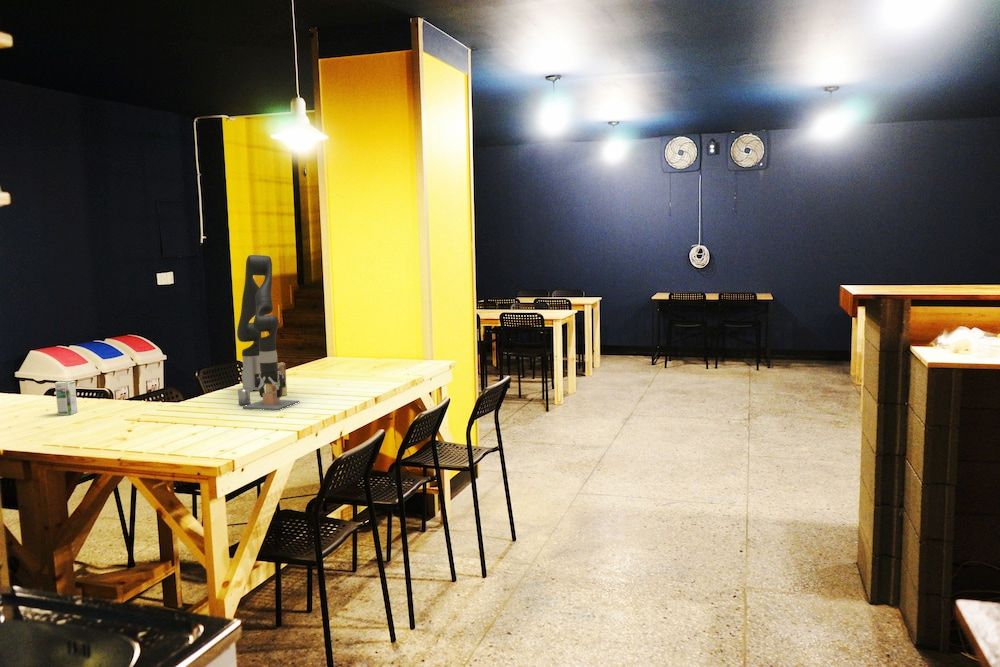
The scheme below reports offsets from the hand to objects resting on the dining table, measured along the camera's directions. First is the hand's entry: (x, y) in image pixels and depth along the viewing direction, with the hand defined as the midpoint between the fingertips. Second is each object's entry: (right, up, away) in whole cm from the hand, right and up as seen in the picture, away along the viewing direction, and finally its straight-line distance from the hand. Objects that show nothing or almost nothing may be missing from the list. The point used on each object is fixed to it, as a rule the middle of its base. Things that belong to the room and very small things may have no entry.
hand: (270, 397), depth 330 cm
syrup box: (-87, -7, -4) cm, 88 cm away
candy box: (-4, -2, +23) cm, 23 cm away
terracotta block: (0, -3, 0) cm, 3 cm away
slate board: (0, -4, 0) cm, 4 cm away
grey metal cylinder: (-13, -4, +5) cm, 14 cm away
